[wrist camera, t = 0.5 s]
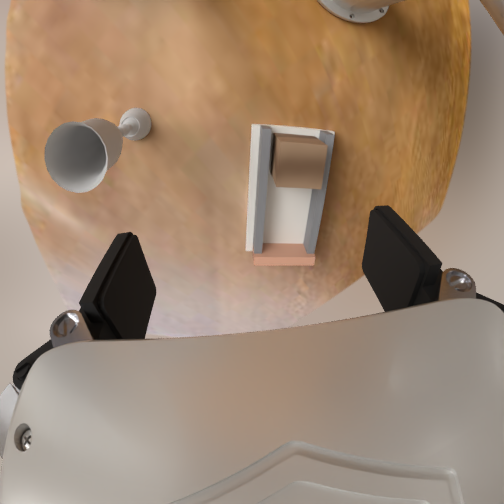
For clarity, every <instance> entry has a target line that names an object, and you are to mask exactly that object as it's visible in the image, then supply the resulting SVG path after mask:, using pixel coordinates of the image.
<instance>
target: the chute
mask: <svg viewBox="0 0 504 504" xmlns="http://www.w3.org/2000/svg"><path fill="white" fill-rule="evenodd" d="M273 133H284V134H296V135H307V136H315V137H316V138H318V139H319V140H321V141H322V142H323V143H325V144H326V145H328V148H327V155H326V162H325V168H324V175H323V181H322V188H321V189H306V188H287V187H276V185H275V183H274V180H273V178H272V175H271V173H270V171H271V158H272V145H273ZM334 134H335V132H334V131H330V130H322V129H314V128H304V127H294V126H282V125H266V124H252V129H251V148H250V168H249V188H248V208H247V229H246V251H252V252H253V261H254V265H314V262H315V258H316V257H315V255H314V252H315V247H316V242H317V237H318V232H319V227H320V222H321V217H322V211H323V206H324V200H325V194H326V189H327V183H328V176H329V170H330V164H331V157H332V150H333V143H334V136H335V135H334Z"/></svg>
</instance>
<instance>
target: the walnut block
mask: <svg viewBox="0 0 504 504" xmlns="http://www.w3.org/2000/svg"><path fill="white" fill-rule="evenodd" d="M327 148H328V145H326V144H325V143H323V142H322V141H321V140H319V139H318V138H316V137H315V136H307V135H296V134H284V133H273V145H272V158H271V171H270V173H271V175H272V178H273V180H274V183H275V185H276V187H287V188H306V189H321V188H322V181H323V175H324V168H325V162H326V155H327Z"/></svg>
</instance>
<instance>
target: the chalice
mask: <svg viewBox="0 0 504 504" xmlns="http://www.w3.org/2000/svg"><path fill="white" fill-rule="evenodd" d="M150 128H151V118H150V116H149V114H148V113H147V112H146V111H145V110H143V109H140V108H132V109H130V110H128V111H126V112H125V113H124V114H123V116H122V118H121V120H120V125H119V126H118V127H117V126H116V125H115V124H113V123H111V122H109V121H107V120H104V119H99V118H94V119H89V120H86V121H83V122H68V123H64V124H62V125H60V126H59V127H57V128H56V129H55V130H54V131H53V132H52V134H51V135H50V136H49V138H48V140H47V143H46V147H45V163H46V167H47V170H48V172H49V174H50V175H51V177H52V179H53V180H54V181H55V182H56V183H57V184H58V185H59V186H60V187H62V188H64V189H66V190H68V191H71V192H76V193H80V192H87V191H89V190H91V189H93V188H95V187H96V186H97V185H98V184H99V183H100V182H101V181H102V180H103V177H104V175H105V173H106V171H107V170H108V169H109V168H111V167H112V166H113V165H114V164H115V163H116V162H117V160H118V158H119V156H120V154H121V150H122V144H123V138H122V137H123V136H124V137H126V138H128V139H130V140H140V139H142V138H144V137H145V136H146V135H147V134H148V133H149V131H150Z"/></svg>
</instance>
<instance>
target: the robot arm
mask: <svg viewBox="0 0 504 504" xmlns="http://www.w3.org/2000/svg"><path fill="white" fill-rule="evenodd" d="M317 1H318V2H319V3H320V4H321V5H322V6H323V7H324V8H325V9H326V10H328V11H329V12H330V13H332V14H333V15H335V16H337V17H339V18H341V19H343V20H346V21H350V22H355V23H368V22H373V21H376V20H378V19H380V18H381V17H383V16H384V15H385V14H386V12H387V10H388V8H389V5H392V4H395V3H398V2H401V1H405V0H317ZM480 1H481V3H482V4H483V5H484V7H485V8H486V10H487V11H488V13H489V14H490V16H491V17H492V18H493V20H494V21H495V23H496V25H497V26H498V28H499V29H500V30H501V32H502V33H503V35H504V0H480ZM350 16H351V18H350ZM441 265H442V262H441V261H440V260H439V259H438V258H437V256H436V255H435V254H434V253H433V252H432V251H431V250H430V249H429V247H428V246H427V245H426V244H425V243H424V242H423V241H422V239H420V237H419V236H418V235H417V234H416V233H415V232H414V231H413V230H412V229H411V228H410V227H409V226H408V224H407V223H406V222H405V221H404V220H403V219H402V218H401V217H400V216H399V215H398V214H397V213H396V212H395V211H394V210H393V209H392V208H391V207H390V206H375V207H374V210H371V212H370V217H369V224H368V231H367V238H366V244H365V250H364V256H363V261H362V269H363V272H364V274H365V276H366V278H367V279H368V281H369V283H370V285H371V287H372V288H373V290H374V292H375V294H376V296H377V298H378V299H379V301H380V303H381V305H382V307H383V309H384V311H385V312H383V313H377V314H372V315H367V316H361V317H356V318H350V319H345V320H338V321H332V322H326V323H319V324H312V325H306V326H299V327H291V328H283V329H275V330H266V331H257V332H247V333H236V334H225V335H213V336H199V337H182V338H158V339H145V335H146V331H147V327H148V323H149V319H150V315H151V311H152V307H153V304H154V300H155V296H156V287H155V284H154V281H153V279H152V276H151V273H150V271H149V268H148V265H147V262H146V260H145V257H144V254H143V251H142V248H141V246H140V243H139V240H138V237H137V236H136V235H133V234H132V233H131V232H127V233H121V234H117V236H116V237H115V239H114V240H113V242H112V244H111V245H110V247H109V249H108V250H107V252H106V254H105V256H104V257H103V259H102V261H101V263H100V264H99V266H98V268H97V270H96V271H95V273H94V275H93V277H92V279H91V281H90V283H89V284H88V286H87V288H86V290H85V292H84V294H83V296H82V298H81V300H80V302H79V304H80V306H81V308H80V310H79V311H77V310H68V311H65V312H63V313H62V314H60V315H59V316H57V318H56V319H55V320H54V321H53V323H52V324H51V327H50V337H51V340H49V341H48V342H47V343H45V344H44V345H42V346H41V347H40V348H38V349H37V350H36V351H34V352H33V353H31V354H30V355H29V356H27V357H26V358H25V359H23V360H22V361H21V362H20V363H18V365H17V366H16V368H15V371H14V374H13V383H14V384H13V385H12V384H11V383H9V384H8V386H7V387H6V388H5V389H4V391H3V392H2V393H1V395H0V456H1V457H2V459H3V460H2V466H1V476H0V504H504V305H503V304H501V303H499V302H496V301H494V300H492V299H490V298H487V297H485V296H483V295H481V294H478V293H476V286H475V282H474V281H473V279H472V278H471V277H470V275H468V274H467V273H466V272H464V271H462V270H459V269H456V268H449V269H446V270H445V271H444V272H443V271H442V270H441V269H440V268H441Z"/></svg>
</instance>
